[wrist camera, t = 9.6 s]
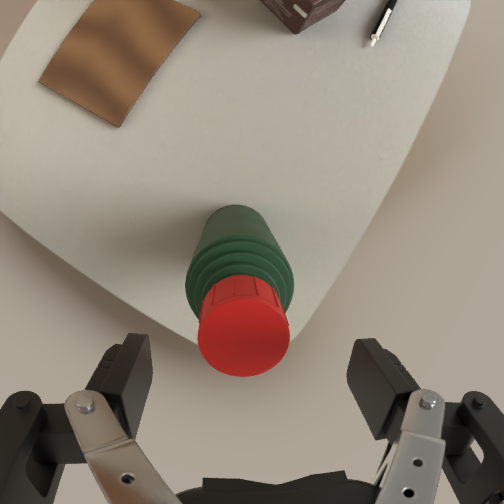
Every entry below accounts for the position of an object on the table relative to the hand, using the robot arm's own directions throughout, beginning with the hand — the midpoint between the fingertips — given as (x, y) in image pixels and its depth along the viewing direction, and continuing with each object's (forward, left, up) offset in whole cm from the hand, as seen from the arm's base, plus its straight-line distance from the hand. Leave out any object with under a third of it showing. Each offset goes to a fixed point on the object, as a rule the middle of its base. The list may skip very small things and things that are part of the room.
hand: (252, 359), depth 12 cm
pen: (+34, +1, -20) cm, 39 cm away
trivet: (+10, +22, -20) cm, 31 cm away
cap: (0, 0, -4) cm, 4 cm away
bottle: (0, 0, -20) cm, 20 cm away
